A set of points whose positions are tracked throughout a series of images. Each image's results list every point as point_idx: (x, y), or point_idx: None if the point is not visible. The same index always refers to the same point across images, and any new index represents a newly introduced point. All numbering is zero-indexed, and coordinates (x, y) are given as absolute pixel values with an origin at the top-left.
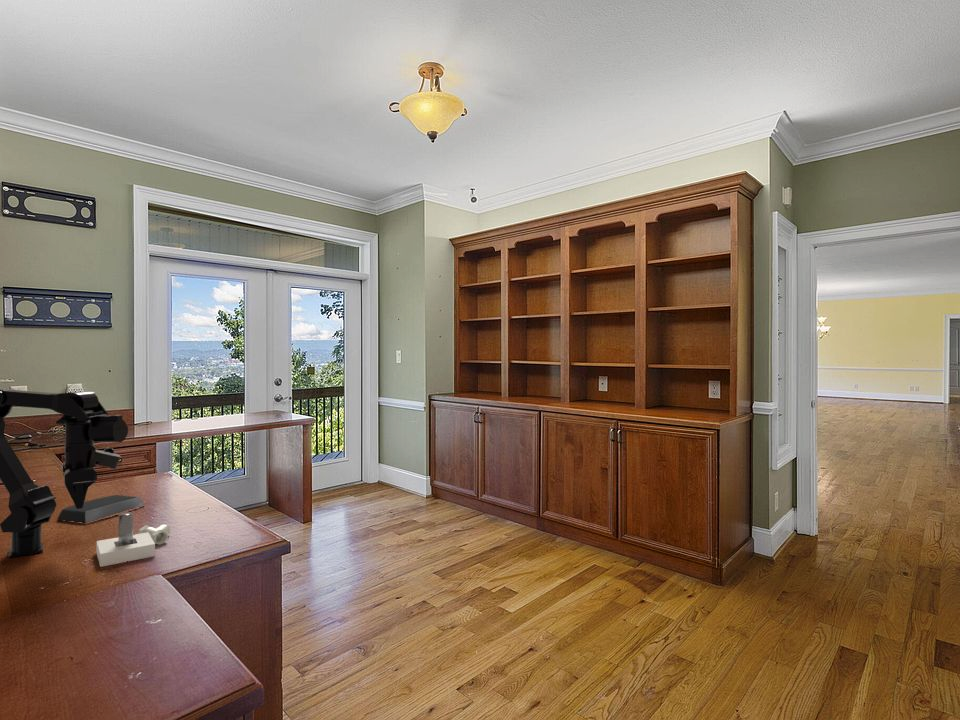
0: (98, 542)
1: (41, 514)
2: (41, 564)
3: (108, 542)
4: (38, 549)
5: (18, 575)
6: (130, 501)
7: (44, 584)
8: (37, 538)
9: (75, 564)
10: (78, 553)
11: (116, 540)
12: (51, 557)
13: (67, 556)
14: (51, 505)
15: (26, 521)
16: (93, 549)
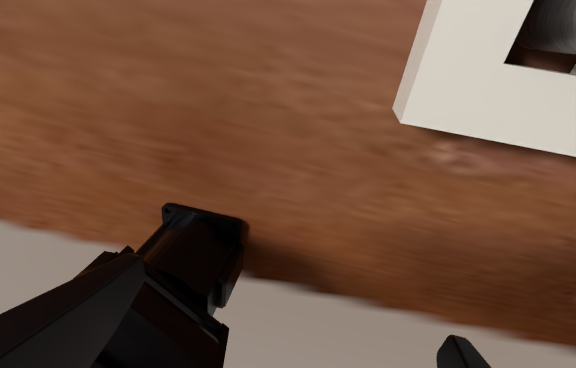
0: (434, 123)
1: (194, 341)
2: (359, 248)
3: (484, 88)
4: (222, 227)
5: (406, 299)
6: None
7: (565, 290)
8: (207, 254)
9: (459, 193)
10: (335, 153)
11: (490, 43)
12: (310, 216)
13: (340, 185)
14: (126, 330)
15: (220, 360)
16: (328, 102)
